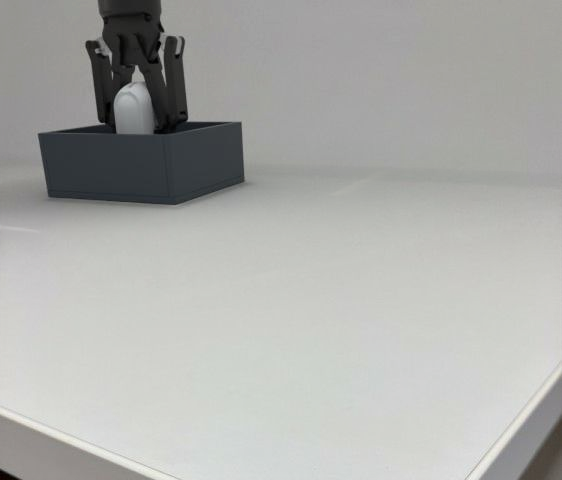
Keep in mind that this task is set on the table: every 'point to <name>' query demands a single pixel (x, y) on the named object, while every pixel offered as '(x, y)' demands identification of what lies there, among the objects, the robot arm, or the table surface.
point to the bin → (142, 162)
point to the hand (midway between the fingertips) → (149, 179)
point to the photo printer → (134, 110)
